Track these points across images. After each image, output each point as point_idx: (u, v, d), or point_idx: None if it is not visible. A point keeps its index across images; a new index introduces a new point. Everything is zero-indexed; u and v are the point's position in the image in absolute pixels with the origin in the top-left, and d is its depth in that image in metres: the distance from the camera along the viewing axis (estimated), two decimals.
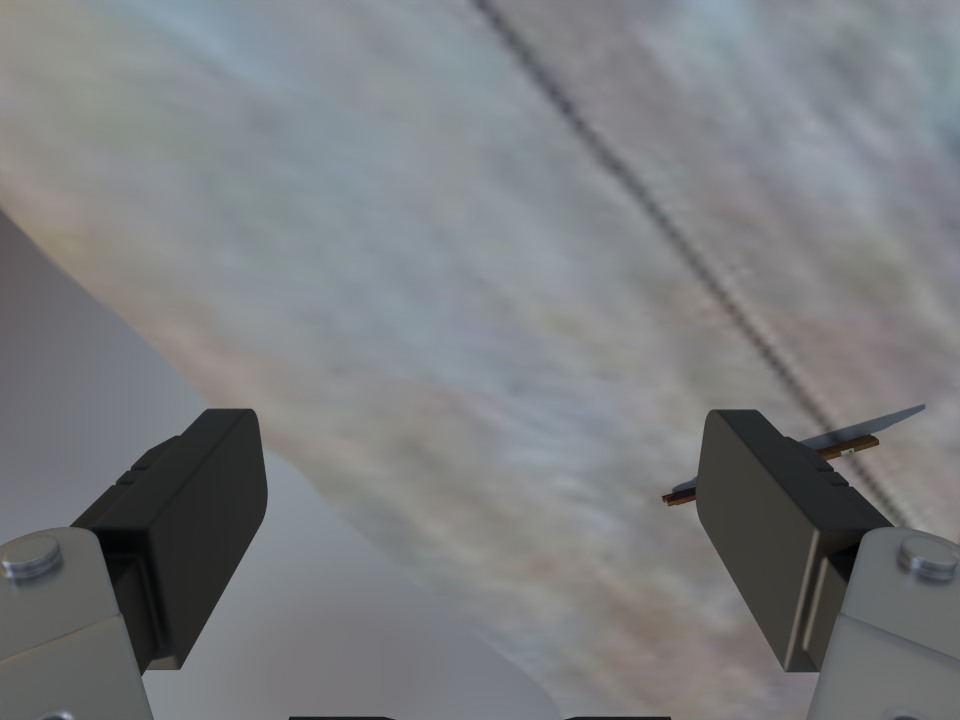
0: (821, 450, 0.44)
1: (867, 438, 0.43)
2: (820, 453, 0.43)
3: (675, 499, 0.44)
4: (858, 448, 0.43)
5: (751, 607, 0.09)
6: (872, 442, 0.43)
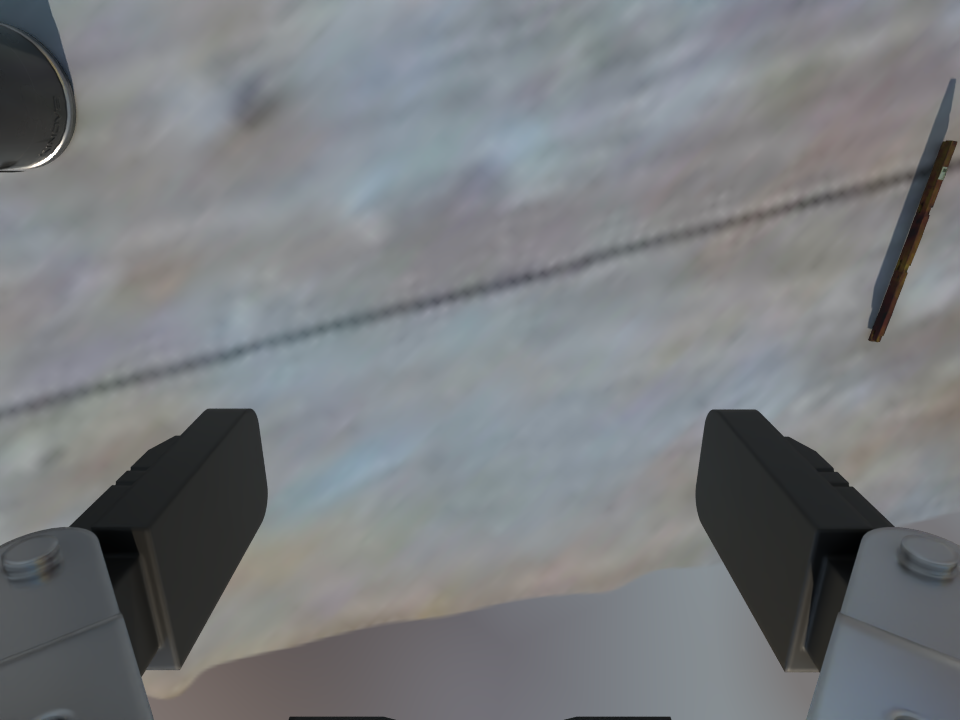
0: (925, 192, 0.45)
1: (944, 147, 0.44)
2: (927, 195, 0.45)
3: (877, 333, 0.48)
4: (947, 162, 0.43)
5: (751, 607, 0.09)
6: (949, 147, 0.43)
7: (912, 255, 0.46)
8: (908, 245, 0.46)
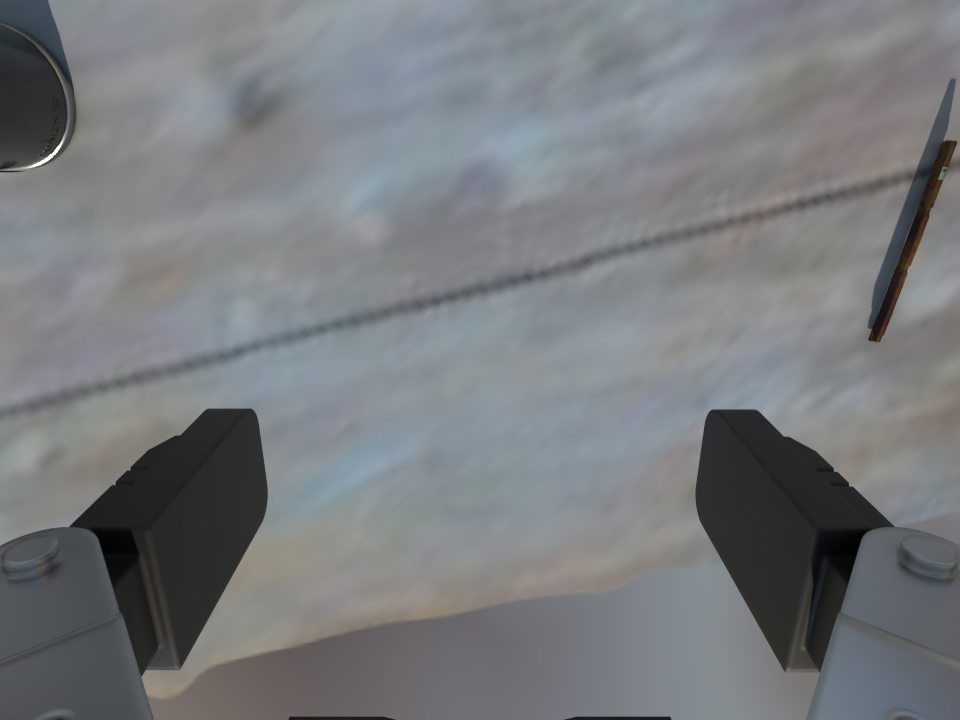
0: (925, 192, 0.45)
1: (944, 147, 0.44)
2: (927, 195, 0.45)
3: (877, 333, 0.48)
4: (947, 162, 0.43)
5: (751, 607, 0.09)
6: (949, 147, 0.43)
7: (912, 255, 0.46)
8: (908, 245, 0.46)
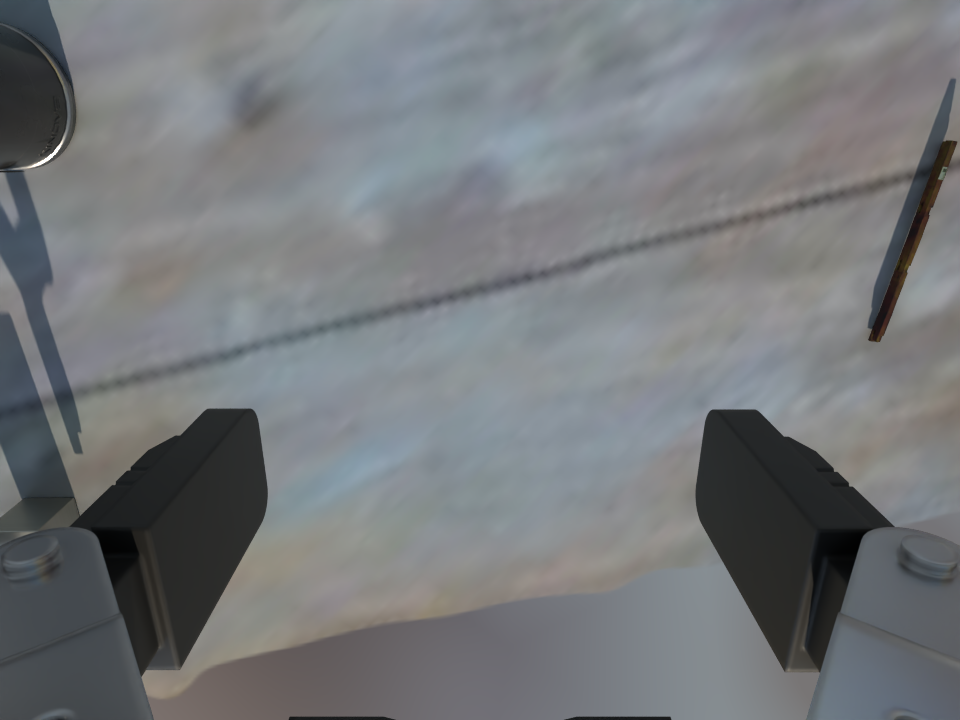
0: (925, 192, 0.45)
1: (944, 147, 0.44)
2: (927, 195, 0.45)
3: (877, 333, 0.48)
4: (947, 162, 0.43)
5: (751, 607, 0.09)
6: (949, 147, 0.43)
7: (912, 255, 0.46)
8: (908, 245, 0.46)
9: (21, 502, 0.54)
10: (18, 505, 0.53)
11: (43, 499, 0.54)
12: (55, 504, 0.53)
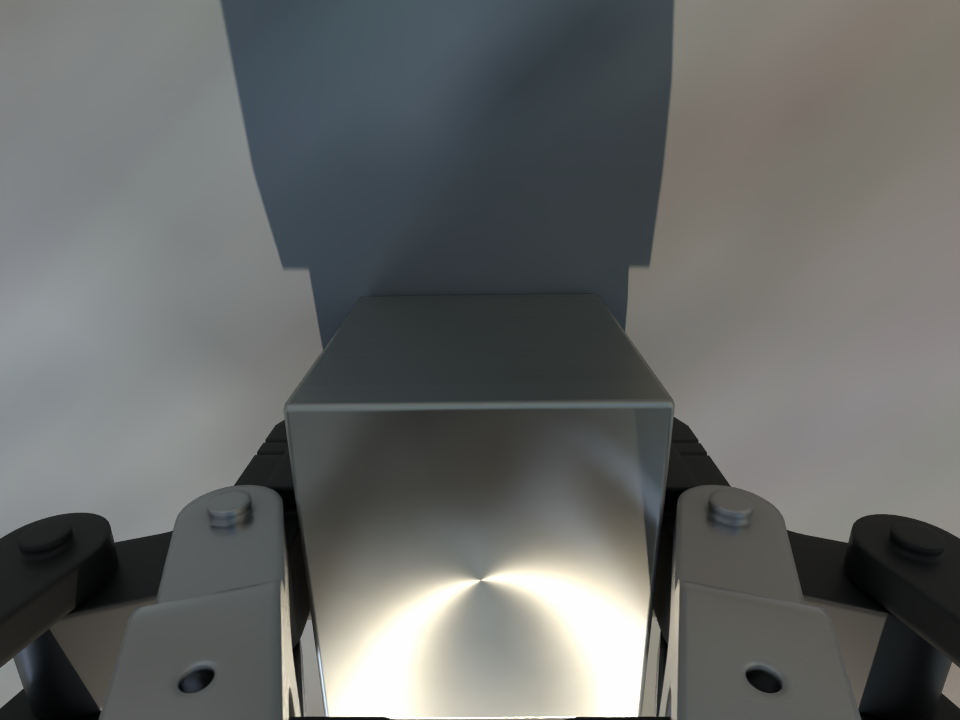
0: None
1: None
2: None
3: None
4: None
5: None
6: None
7: None
8: None
9: (368, 305, 0.11)
10: (367, 312, 0.10)
11: (462, 298, 0.11)
12: (553, 308, 0.10)
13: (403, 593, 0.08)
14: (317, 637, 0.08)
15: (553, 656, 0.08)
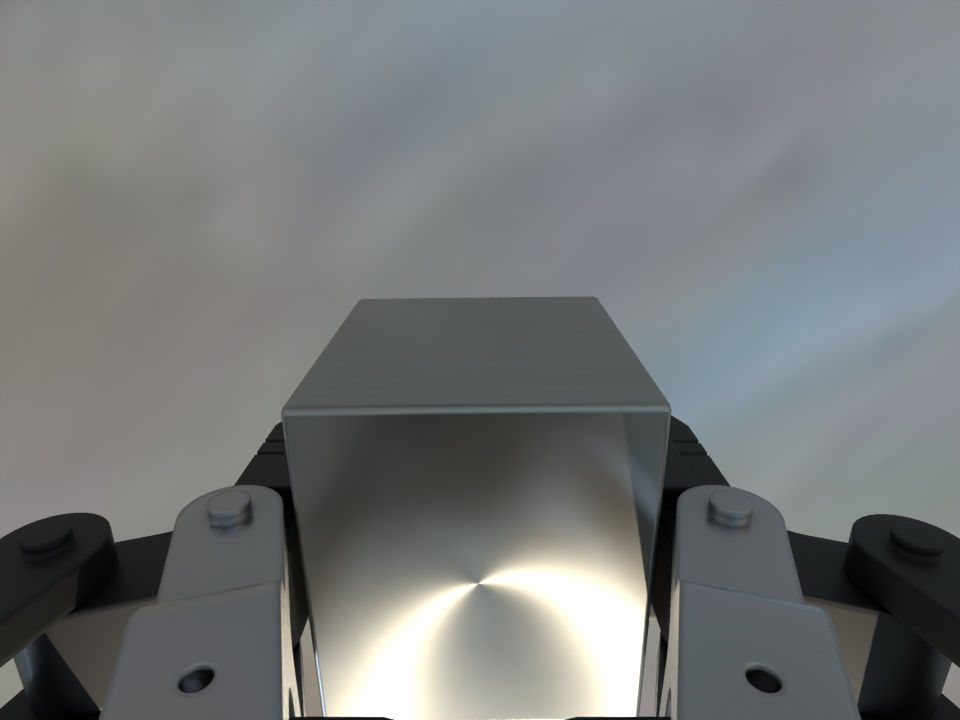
0: None
1: None
2: None
3: None
4: None
5: None
6: None
7: None
8: None
9: (366, 308, 0.11)
10: (365, 315, 0.10)
11: (460, 301, 0.11)
12: (552, 311, 0.10)
13: (401, 597, 0.08)
14: (315, 640, 0.08)
15: (550, 659, 0.08)
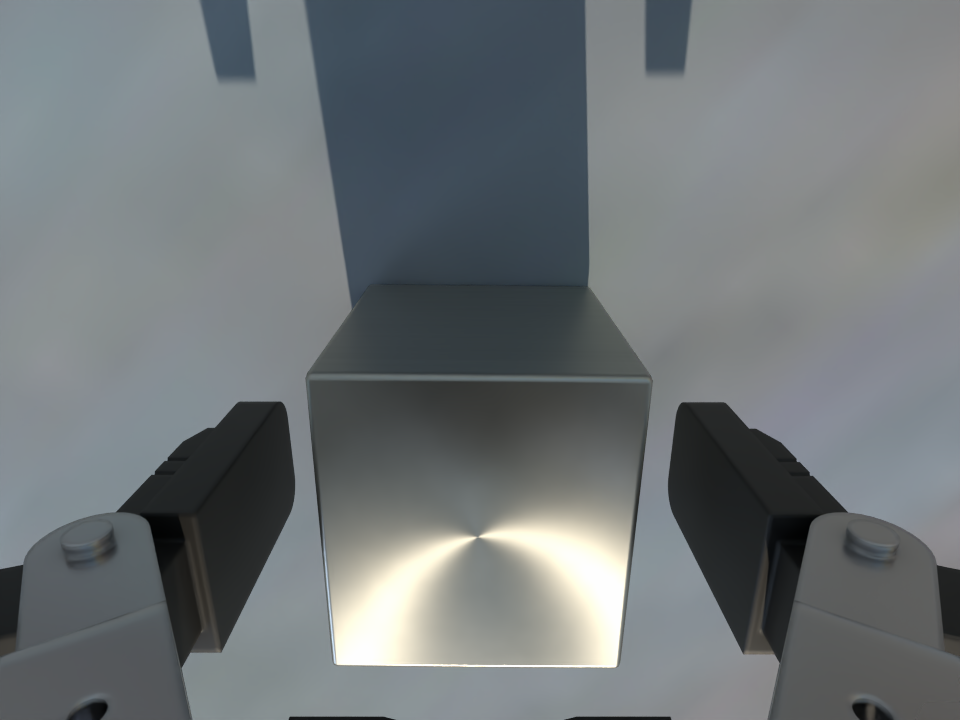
0: None
1: None
2: None
3: None
4: None
5: (715, 593, 0.09)
6: None
7: None
8: None
9: (376, 292, 0.12)
10: (376, 298, 0.11)
11: (463, 288, 0.12)
12: (548, 298, 0.11)
13: (407, 548, 0.09)
14: (328, 587, 0.09)
15: (541, 608, 0.09)
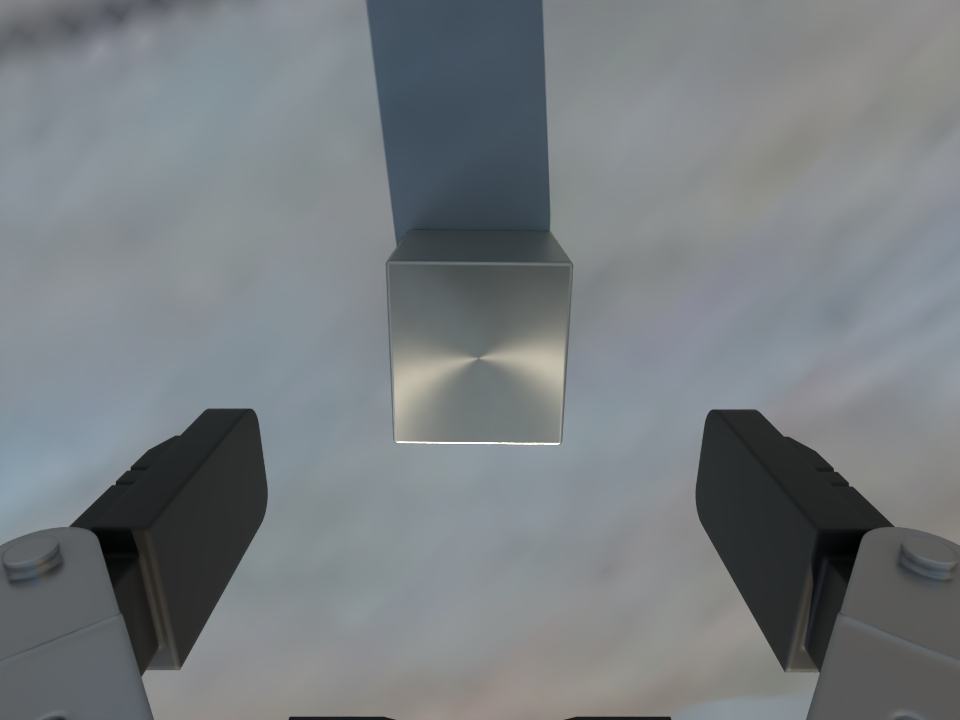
0: None
1: None
2: None
3: None
4: None
5: (751, 607, 0.09)
6: None
7: None
8: None
9: (414, 233, 0.18)
10: (415, 235, 0.18)
11: (469, 231, 0.19)
12: (522, 235, 0.18)
13: (439, 365, 0.15)
14: (393, 391, 0.16)
15: (515, 404, 0.16)
